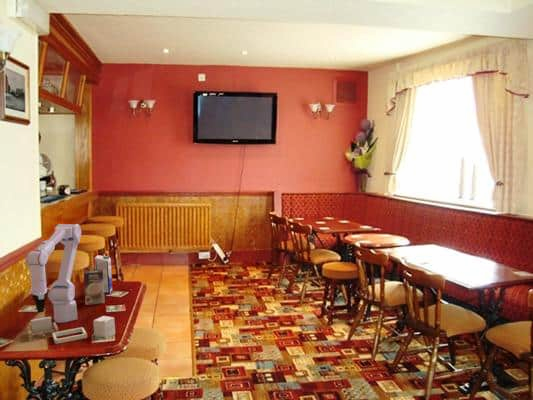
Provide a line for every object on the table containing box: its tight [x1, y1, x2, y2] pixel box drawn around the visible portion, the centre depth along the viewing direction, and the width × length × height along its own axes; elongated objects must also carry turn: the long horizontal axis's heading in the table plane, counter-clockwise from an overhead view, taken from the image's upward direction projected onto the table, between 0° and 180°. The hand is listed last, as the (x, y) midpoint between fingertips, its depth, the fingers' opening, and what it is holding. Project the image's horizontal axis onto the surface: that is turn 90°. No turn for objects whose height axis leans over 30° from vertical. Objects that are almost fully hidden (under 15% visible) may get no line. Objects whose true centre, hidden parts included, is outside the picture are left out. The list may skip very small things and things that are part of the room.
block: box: [30, 316, 53, 333], centre depth 211 cm, size 8×2×6 cm, turn 120°
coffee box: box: [83, 269, 105, 306], centre depth 253 cm, size 9×6×16 cm
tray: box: [52, 326, 88, 345], centre depth 206 cm, size 12×9×2 cm
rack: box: [26, 321, 59, 342], centre depth 210 cm, size 11×10×4 cm
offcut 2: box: [44, 330, 55, 339], centre depth 208 cm, size 4×2×2 cm, turn 120°
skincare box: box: [92, 315, 116, 338], centre depth 208 cm, size 6×6×7 cm
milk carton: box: [94, 254, 113, 295], centre depth 270 cm, size 7×7×20 cm
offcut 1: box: [32, 332, 44, 341], centre depth 205 cm, size 4×2×2 cm, turn 120°
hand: (40, 311), depth 210 cm, fingers closed
